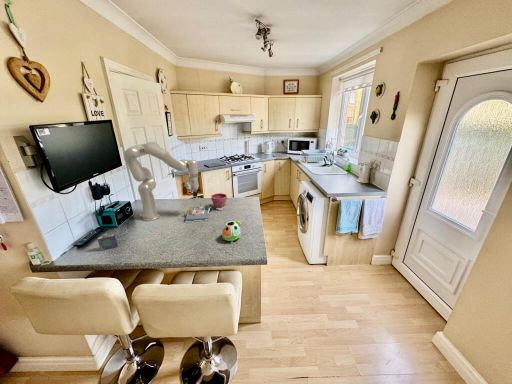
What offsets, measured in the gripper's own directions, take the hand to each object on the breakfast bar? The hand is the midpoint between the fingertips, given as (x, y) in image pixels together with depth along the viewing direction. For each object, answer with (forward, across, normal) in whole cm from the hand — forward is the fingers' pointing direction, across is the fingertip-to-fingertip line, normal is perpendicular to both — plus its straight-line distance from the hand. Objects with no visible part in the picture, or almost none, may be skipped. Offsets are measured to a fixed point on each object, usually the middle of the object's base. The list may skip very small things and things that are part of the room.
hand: (195, 196), depth 168 cm
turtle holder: (+18, -37, -32) cm, 52 cm away
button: (+15, -2, -2) cm, 15 cm away
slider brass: (+15, -1, +5) cm, 16 cm away
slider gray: (+15, +6, -8) cm, 18 cm away
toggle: (+14, +10, -2) cm, 18 cm away
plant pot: (+18, +14, -19) cm, 29 cm away
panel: (+18, +1, -2) cm, 18 cm away
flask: (+19, -43, +48) cm, 67 cm away
